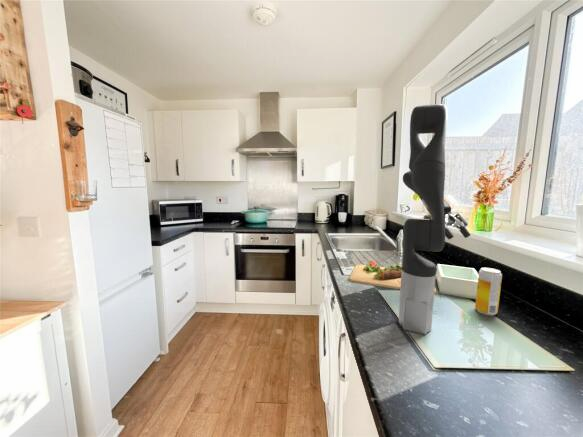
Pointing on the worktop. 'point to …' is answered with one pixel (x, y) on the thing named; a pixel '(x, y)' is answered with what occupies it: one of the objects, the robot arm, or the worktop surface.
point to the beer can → (488, 291)
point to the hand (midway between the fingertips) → (459, 237)
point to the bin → (457, 280)
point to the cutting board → (378, 275)
